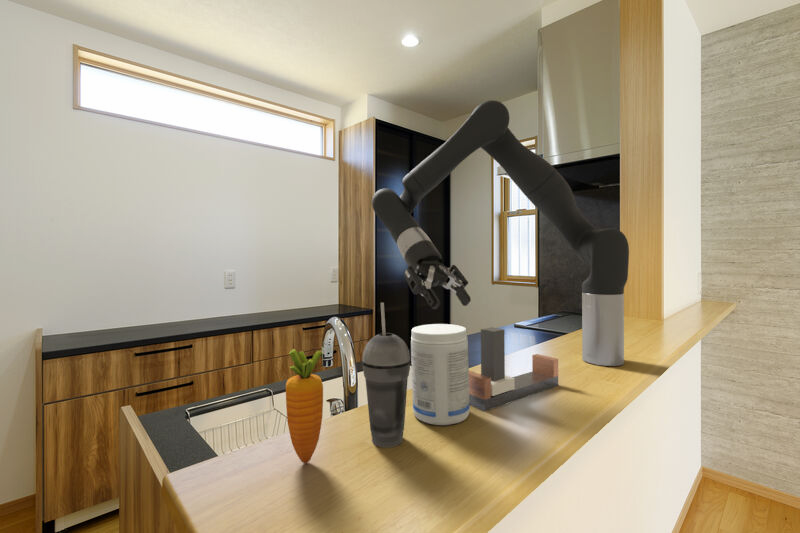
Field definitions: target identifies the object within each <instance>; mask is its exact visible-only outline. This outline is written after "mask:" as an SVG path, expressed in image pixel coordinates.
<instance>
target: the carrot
mask: <svg viewBox="0 0 800 533" xmlns="http://www.w3.org/2000/svg"><path fill="white" fill-rule="evenodd" d="M288 354H289V356H290V359H291V360H292V362H293V364H294V365H291V366H289V369H290V370H291V371H293V372H294V373H295V374H296V375H293V376H291V377H290V378H288V379H287V381H286V383H285V405H286V406H285V407H286V416H287V417H286V419H287V425H288V431H289V436H290V440H291V444H292V446H293V449H294V451H295V453H296V455H297V457H298V459H299V460H300V463H301V462H302V463H303V464H304V463H307V464H308V463H309V462H310V461H311V459H312V457H313V455H314V453H315V450H316V449H317V446H318V442H319V439H320V433H321V429H322V423H323V412H324V411H323V409H324V408H323V407H324V384H323V381H322V378H321V377H320V375H317V374H313V371H314V369H315V367H316V366H317V363H318V361H319V359H320V358H321V356H322V355H323V352H322V351H321V350H316V352H315V353H314V354H313V356H312V358H310V359H309V360H308V359H307V356H306V354H305V352H304V351H303V350H301V351H299V352H297V350H296V349H295V348H293V349H291V350H290V351H289V353H288Z"/></svg>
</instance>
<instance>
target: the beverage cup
mask: <svg viewBox="0 0 800 533" xmlns="http://www.w3.org/2000/svg"><path fill="white" fill-rule="evenodd" d="M380 313H381V314H380V315H381V330H382V331H381V332H382V333H381V332H380V333H378V334H376V335H375V336H372V337H371V339H370V340H369V341H368V342H367V343H366V344H365V347H364V349H363V352H362V360H361V361H360V362H361V365H362V372H363V376H364V378H365V380H364V381H365V387H366V388H365V390H366V397H367V398H366V399H367V408H368V409H367V410H368V418H369V419H368V420H369V428H370V429H369V430H370V435H371V442H372V444H373V445H374V446H376V447H380V448H384V449H386V448H394V447H397V446H399V445H401V444H402V443H403V439H404V438H403V437H404V431H405V423H406V422H405V421H406V420H405V418H406V405H407V391H408V380H409V375H410V370H411V364H412V363H411V353H410V351H409V347H408V346H407V344H406V342H405V341H404V340H403V339H402V338H401V337H400V336H399V335H396V334H394V333H391V332H386V318H385V316H386V314H385V302H380Z"/></svg>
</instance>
